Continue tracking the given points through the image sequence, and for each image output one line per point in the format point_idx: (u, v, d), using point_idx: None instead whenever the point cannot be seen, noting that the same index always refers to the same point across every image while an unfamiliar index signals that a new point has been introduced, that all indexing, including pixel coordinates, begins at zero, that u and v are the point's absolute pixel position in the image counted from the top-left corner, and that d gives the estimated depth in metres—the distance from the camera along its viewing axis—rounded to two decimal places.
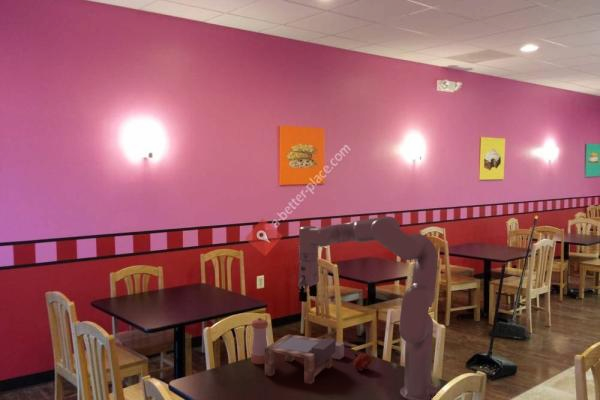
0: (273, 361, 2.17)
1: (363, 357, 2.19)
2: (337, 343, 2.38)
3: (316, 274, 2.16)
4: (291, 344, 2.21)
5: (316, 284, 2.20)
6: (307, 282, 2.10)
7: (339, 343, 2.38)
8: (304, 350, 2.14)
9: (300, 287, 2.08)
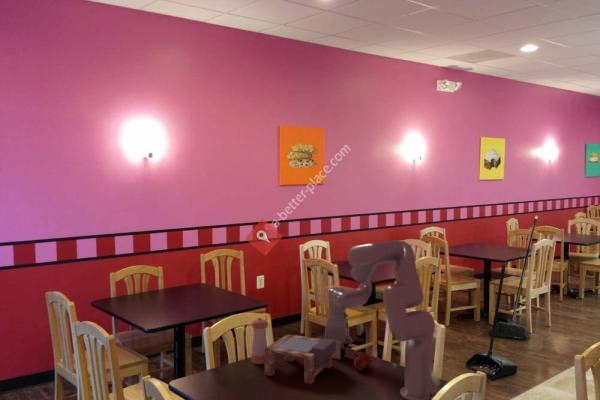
0: (273, 361, 2.17)
1: (363, 357, 2.19)
2: (337, 343, 2.38)
3: None
4: (291, 344, 2.21)
5: None
6: None
7: (339, 343, 2.38)
8: (304, 350, 2.14)
9: (349, 343, 2.35)
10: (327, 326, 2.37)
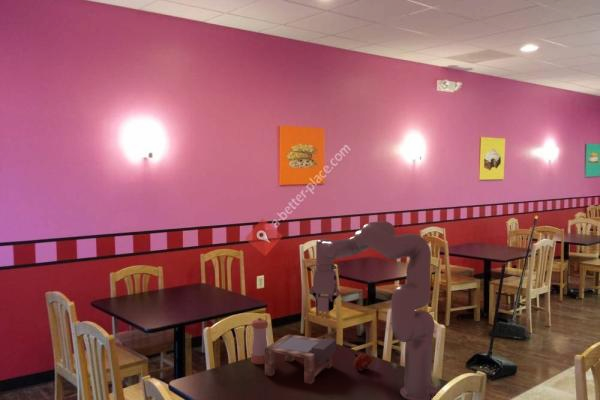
0: (273, 361, 2.17)
1: (363, 357, 2.19)
2: (325, 296, 2.32)
3: None
4: (291, 344, 2.21)
5: None
6: None
7: (328, 296, 2.31)
8: (304, 350, 2.14)
9: None
10: (315, 278, 2.31)
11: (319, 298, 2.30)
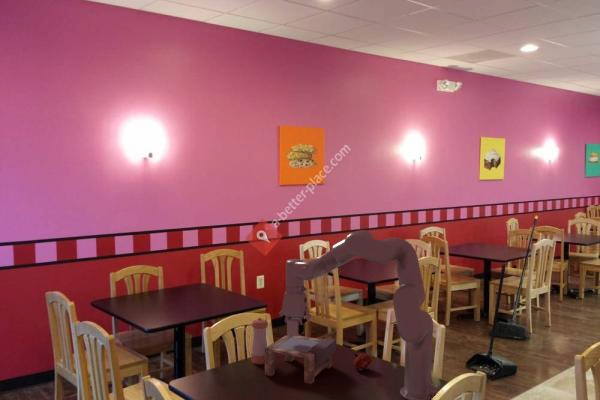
0: (273, 361, 2.17)
1: (363, 357, 2.19)
2: (295, 319, 2.22)
3: None
4: (291, 344, 2.21)
5: (289, 318, 2.24)
6: None
7: (298, 319, 2.21)
8: (304, 350, 2.14)
9: (307, 319, 2.19)
10: (284, 301, 2.20)
11: (289, 321, 2.20)
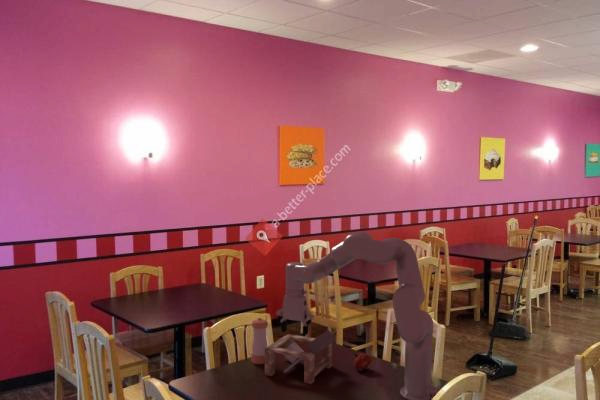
0: (273, 361, 2.17)
1: (363, 357, 2.19)
2: None
3: None
4: None
5: (285, 319, 2.25)
6: None
7: None
8: None
9: (311, 320, 2.18)
10: (284, 304, 2.20)
11: None
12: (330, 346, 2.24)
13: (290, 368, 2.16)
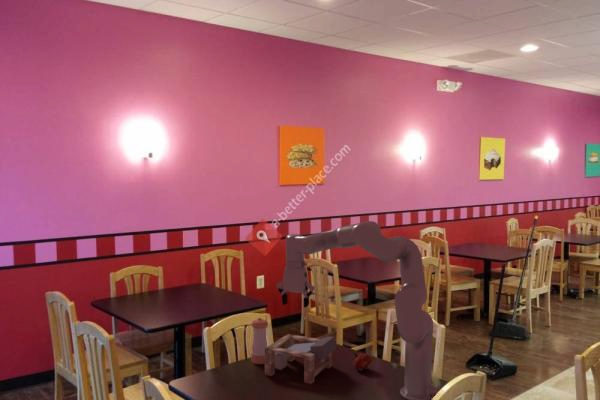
0: (273, 361, 2.17)
1: (363, 357, 2.19)
2: None
3: None
4: (291, 349, 2.21)
5: (285, 291, 2.24)
6: (308, 286, 2.20)
7: None
8: (304, 351, 2.14)
9: (312, 292, 2.17)
10: (284, 276, 2.20)
11: (279, 368, 2.23)
12: None
13: (284, 355, 2.17)
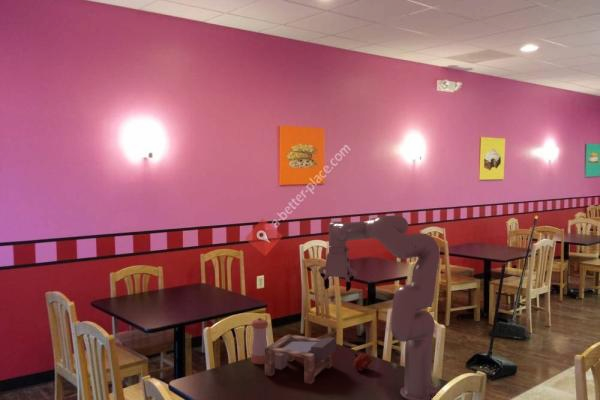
0: (273, 361, 2.17)
1: (363, 357, 2.19)
2: None
3: None
4: (291, 347, 2.21)
5: None
6: (350, 271, 2.30)
7: None
8: (304, 351, 2.14)
9: (354, 276, 2.27)
10: (327, 261, 2.29)
11: (279, 368, 2.23)
12: None
13: None
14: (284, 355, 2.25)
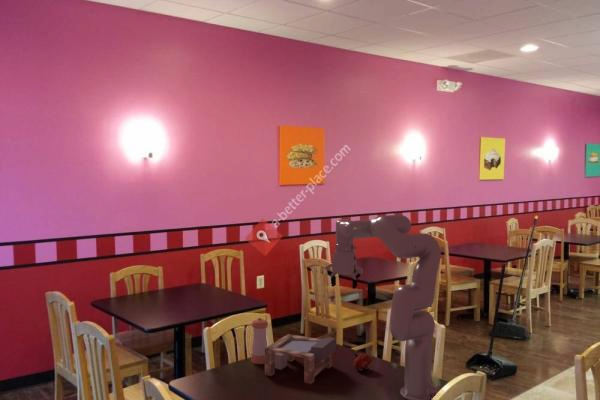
0: (273, 361, 2.17)
1: (363, 357, 2.19)
2: None
3: None
4: (291, 346, 2.21)
5: None
6: (356, 269, 2.31)
7: None
8: (304, 350, 2.14)
9: None
10: (334, 259, 2.31)
11: (279, 368, 2.23)
12: None
13: None
14: (284, 355, 2.25)
